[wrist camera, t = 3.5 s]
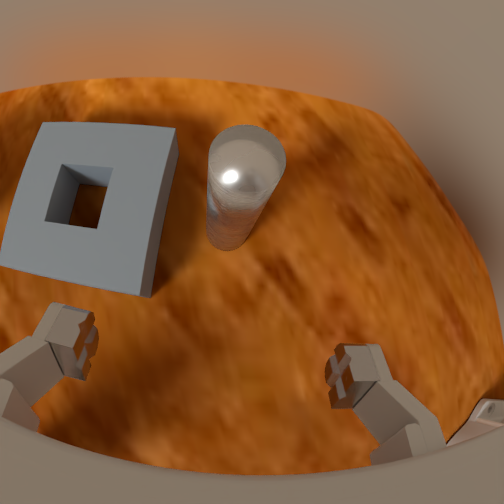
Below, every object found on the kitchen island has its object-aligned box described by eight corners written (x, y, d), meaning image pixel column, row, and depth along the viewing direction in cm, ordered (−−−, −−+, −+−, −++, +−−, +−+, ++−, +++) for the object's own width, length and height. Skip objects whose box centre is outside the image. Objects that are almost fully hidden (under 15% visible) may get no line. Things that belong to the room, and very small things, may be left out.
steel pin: (249, 214, 24) (288, 132, 13) (244, 253, 24) (282, 198, 12) (209, 208, 24) (216, 119, 12) (203, 247, 23) (202, 185, 12)
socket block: (179, 153, 24) (175, 128, 21) (150, 298, 22) (139, 295, 18) (59, 144, 23) (42, 122, 19) (23, 271, 21) (-2, 264, 17)
